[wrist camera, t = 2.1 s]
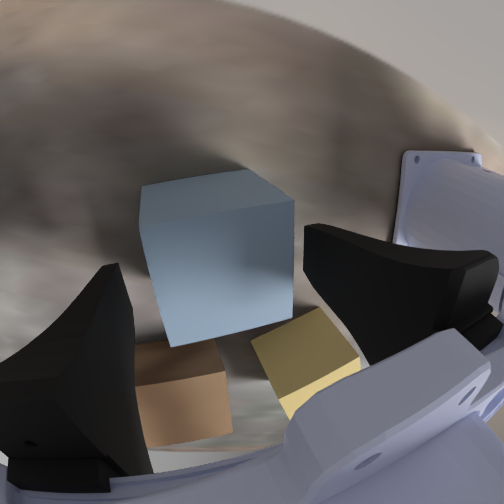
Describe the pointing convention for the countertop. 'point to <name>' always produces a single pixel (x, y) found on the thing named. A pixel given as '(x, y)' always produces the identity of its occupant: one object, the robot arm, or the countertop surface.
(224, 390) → the walnut block
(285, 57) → the countertop surface
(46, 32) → the countertop surface
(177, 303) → the blue cube
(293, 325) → the mustard cube
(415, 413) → the robot arm
